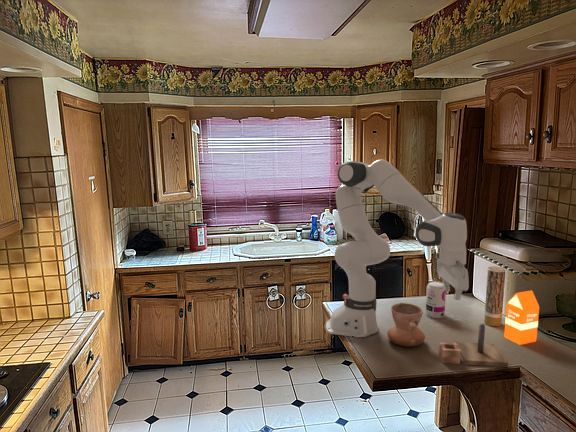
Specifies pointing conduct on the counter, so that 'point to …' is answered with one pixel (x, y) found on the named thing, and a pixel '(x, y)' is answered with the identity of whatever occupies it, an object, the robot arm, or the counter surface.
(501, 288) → the paper tube
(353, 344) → the counter surface
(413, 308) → the ceramic jug
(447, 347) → the bead
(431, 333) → the counter surface
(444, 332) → the counter surface
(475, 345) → the peg stand
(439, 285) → the supplement can
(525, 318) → the orange juice
